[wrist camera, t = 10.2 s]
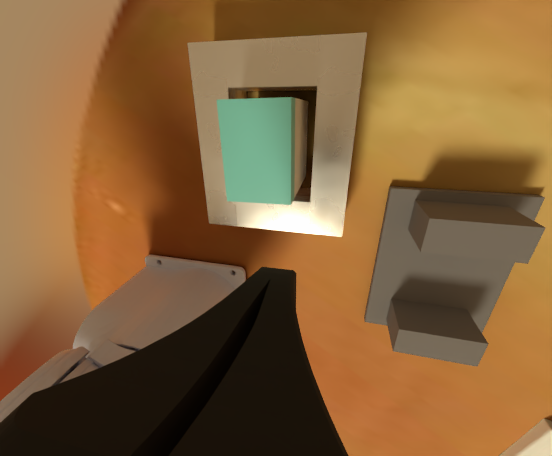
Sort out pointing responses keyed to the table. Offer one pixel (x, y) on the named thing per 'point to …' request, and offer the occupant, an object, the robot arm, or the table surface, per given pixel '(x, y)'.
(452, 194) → the holster
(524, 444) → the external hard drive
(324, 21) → the table surface
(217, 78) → the port
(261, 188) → the plug
